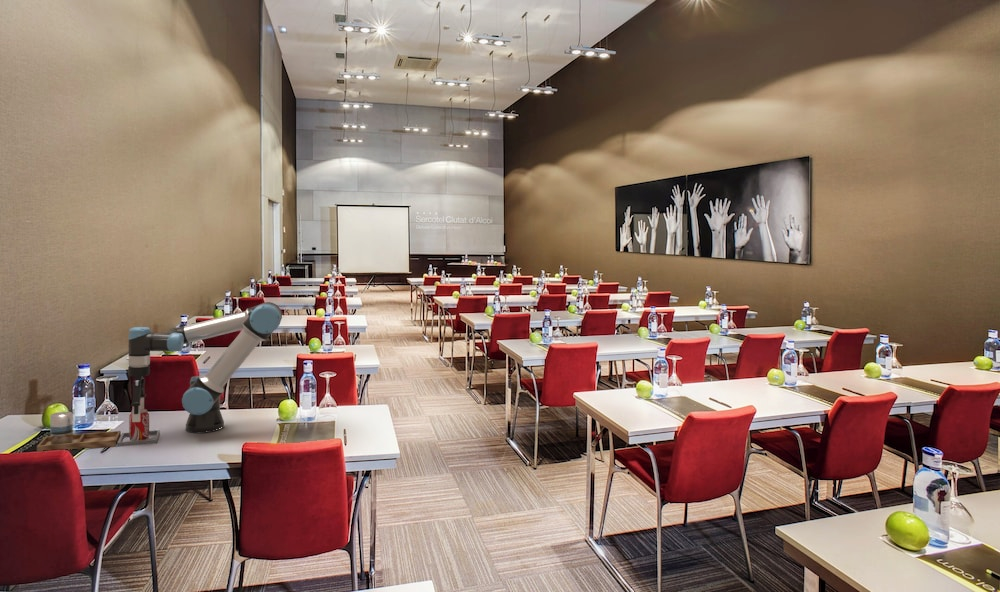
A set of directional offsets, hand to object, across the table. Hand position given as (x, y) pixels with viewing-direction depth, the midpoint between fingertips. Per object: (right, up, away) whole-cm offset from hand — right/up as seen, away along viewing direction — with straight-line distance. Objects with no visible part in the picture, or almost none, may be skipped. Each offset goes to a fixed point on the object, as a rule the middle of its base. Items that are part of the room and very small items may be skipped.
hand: (138, 417), depth 250 cm
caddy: (-18, -9, -8) cm, 22 cm away
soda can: (0, -10, +1) cm, 10 cm away
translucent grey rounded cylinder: (-24, -9, -10) cm, 27 cm away
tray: (0, -9, +1) cm, 9 cm away
